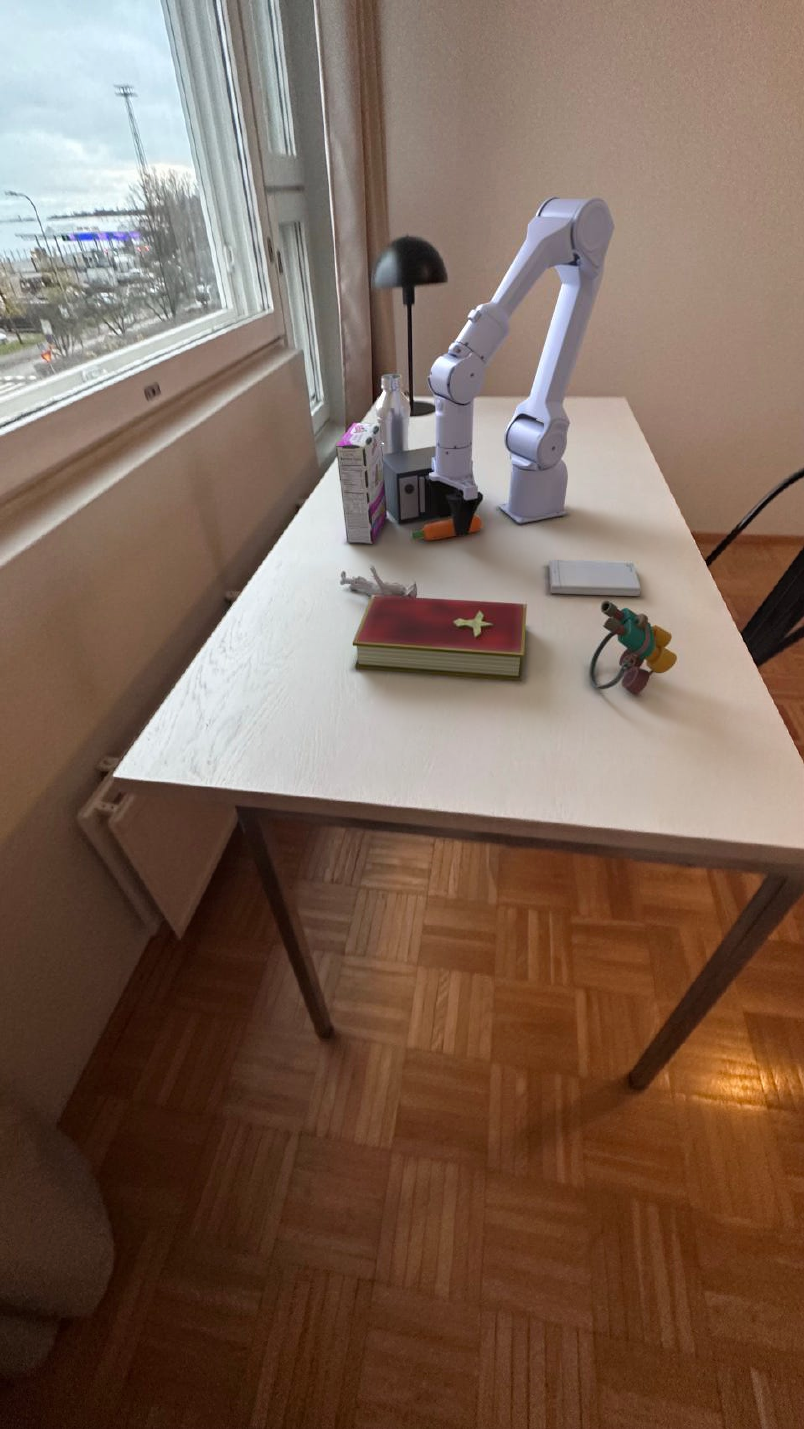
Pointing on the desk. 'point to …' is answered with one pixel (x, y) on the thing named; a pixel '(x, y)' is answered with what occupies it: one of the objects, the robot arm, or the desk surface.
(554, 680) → the desk surface
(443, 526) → the carrot
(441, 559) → the desk surface
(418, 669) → the hardcover book
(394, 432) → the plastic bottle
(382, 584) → the soldier figure
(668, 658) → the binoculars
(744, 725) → the desk surface
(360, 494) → the candy bar box
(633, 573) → the hard drive
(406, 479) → the mini oven
